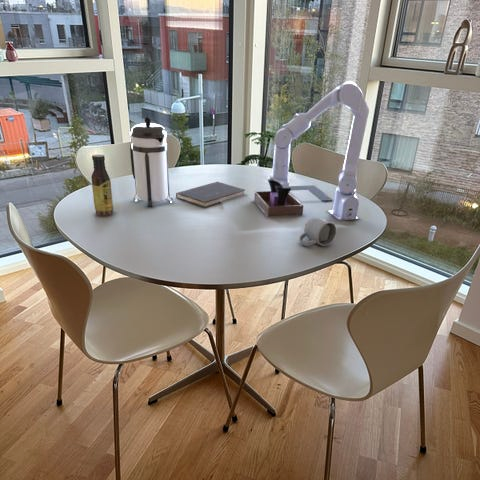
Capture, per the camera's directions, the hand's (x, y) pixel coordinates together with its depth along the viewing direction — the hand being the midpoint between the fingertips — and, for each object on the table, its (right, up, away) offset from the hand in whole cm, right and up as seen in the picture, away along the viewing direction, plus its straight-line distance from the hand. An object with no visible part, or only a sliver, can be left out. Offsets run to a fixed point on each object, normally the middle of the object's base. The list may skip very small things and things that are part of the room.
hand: (277, 201), depth 172 cm
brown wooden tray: (0, -2, +1) cm, 3 cm away
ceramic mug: (+10, -20, -25) cm, 33 cm away
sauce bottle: (-62, -7, -9) cm, 63 cm away
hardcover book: (-26, +5, +11) cm, 29 cm away
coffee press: (-49, +1, +4) cm, 49 cm away
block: (0, -2, +1) cm, 2 cm away
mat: (+13, +8, +19) cm, 24 cm away
